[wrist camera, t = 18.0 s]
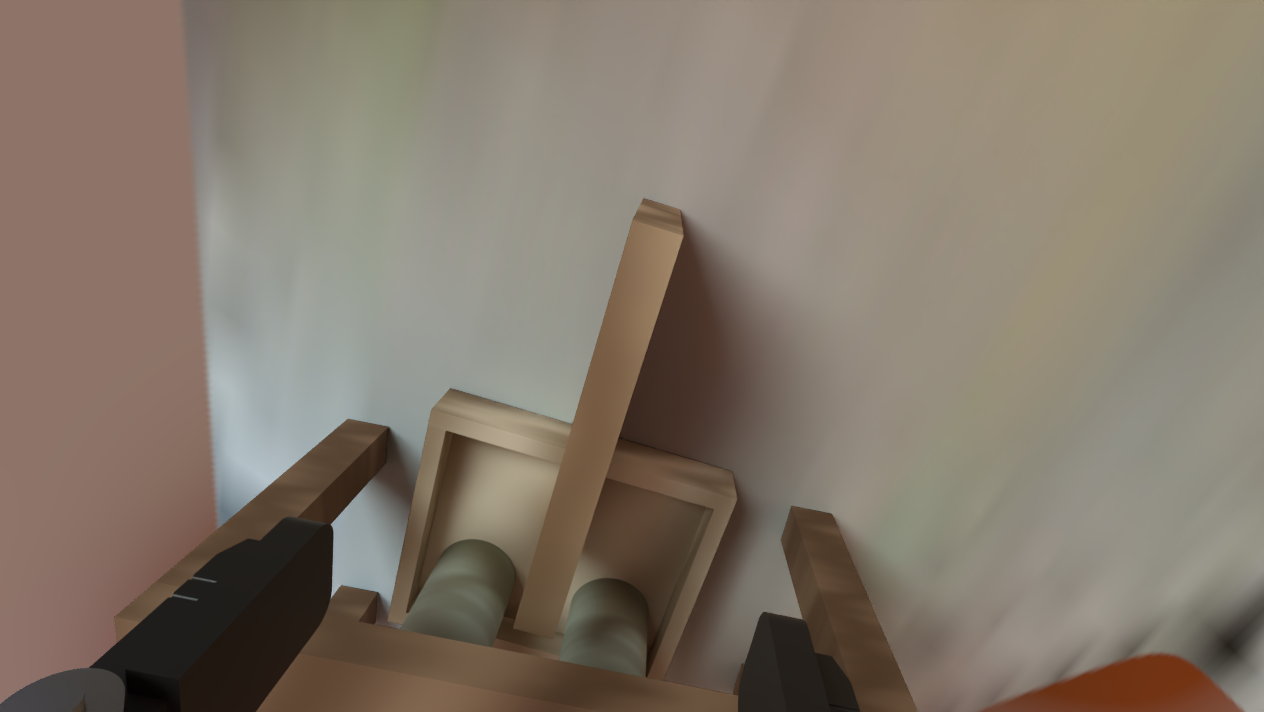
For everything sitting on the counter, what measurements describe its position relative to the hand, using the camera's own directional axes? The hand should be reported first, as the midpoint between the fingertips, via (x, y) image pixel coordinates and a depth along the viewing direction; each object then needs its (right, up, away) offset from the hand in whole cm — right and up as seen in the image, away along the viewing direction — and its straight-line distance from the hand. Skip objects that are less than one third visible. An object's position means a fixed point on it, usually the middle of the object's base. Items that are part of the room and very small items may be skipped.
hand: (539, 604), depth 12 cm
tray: (0, +1, +19) cm, 18 cm away
